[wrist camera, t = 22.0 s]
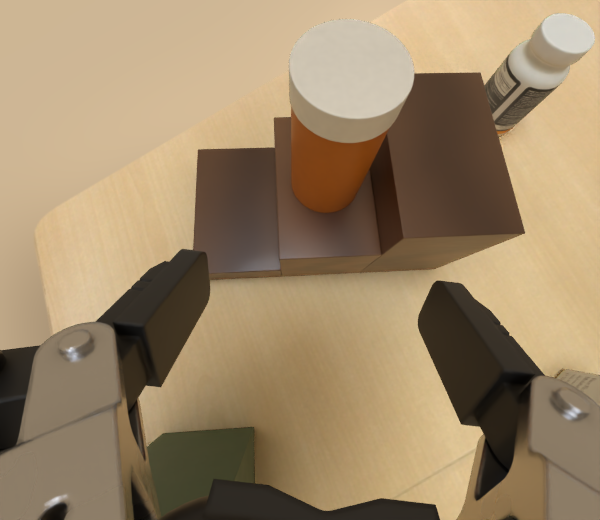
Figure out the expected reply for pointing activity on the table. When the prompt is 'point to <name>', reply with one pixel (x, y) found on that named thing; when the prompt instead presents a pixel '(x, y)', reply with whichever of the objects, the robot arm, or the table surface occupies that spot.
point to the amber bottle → (342, 107)
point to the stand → (199, 463)
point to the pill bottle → (536, 68)
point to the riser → (366, 196)
